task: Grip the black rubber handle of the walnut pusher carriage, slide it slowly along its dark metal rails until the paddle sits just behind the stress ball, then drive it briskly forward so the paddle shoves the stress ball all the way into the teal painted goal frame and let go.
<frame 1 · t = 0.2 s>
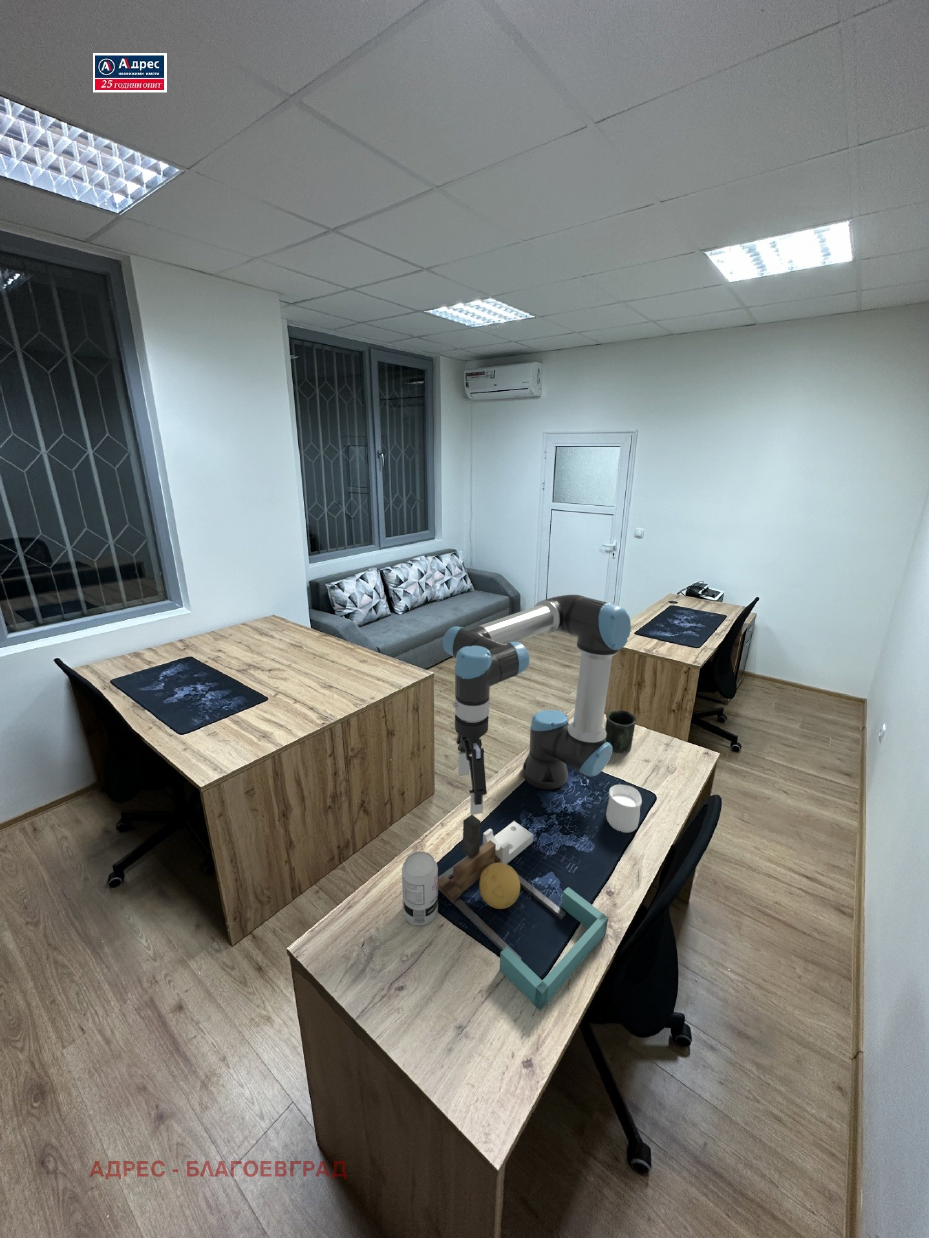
hand: (469, 792, 116), 27 cm above the table, fingers open, 13 cm apart
rails: (497, 899, 120), on the table
stress ball: (498, 901, 120), on the table
carriage: (472, 849, 123), point 9 cm above the table, slide at 0.0 cm
supplement can: (420, 912, 117), on the table
mug: (618, 743, 184), on the table
goal: (554, 950, 108), on the table
bracket: (507, 850, 135), on the table, touching rails
cup: (621, 821, 146), on the table
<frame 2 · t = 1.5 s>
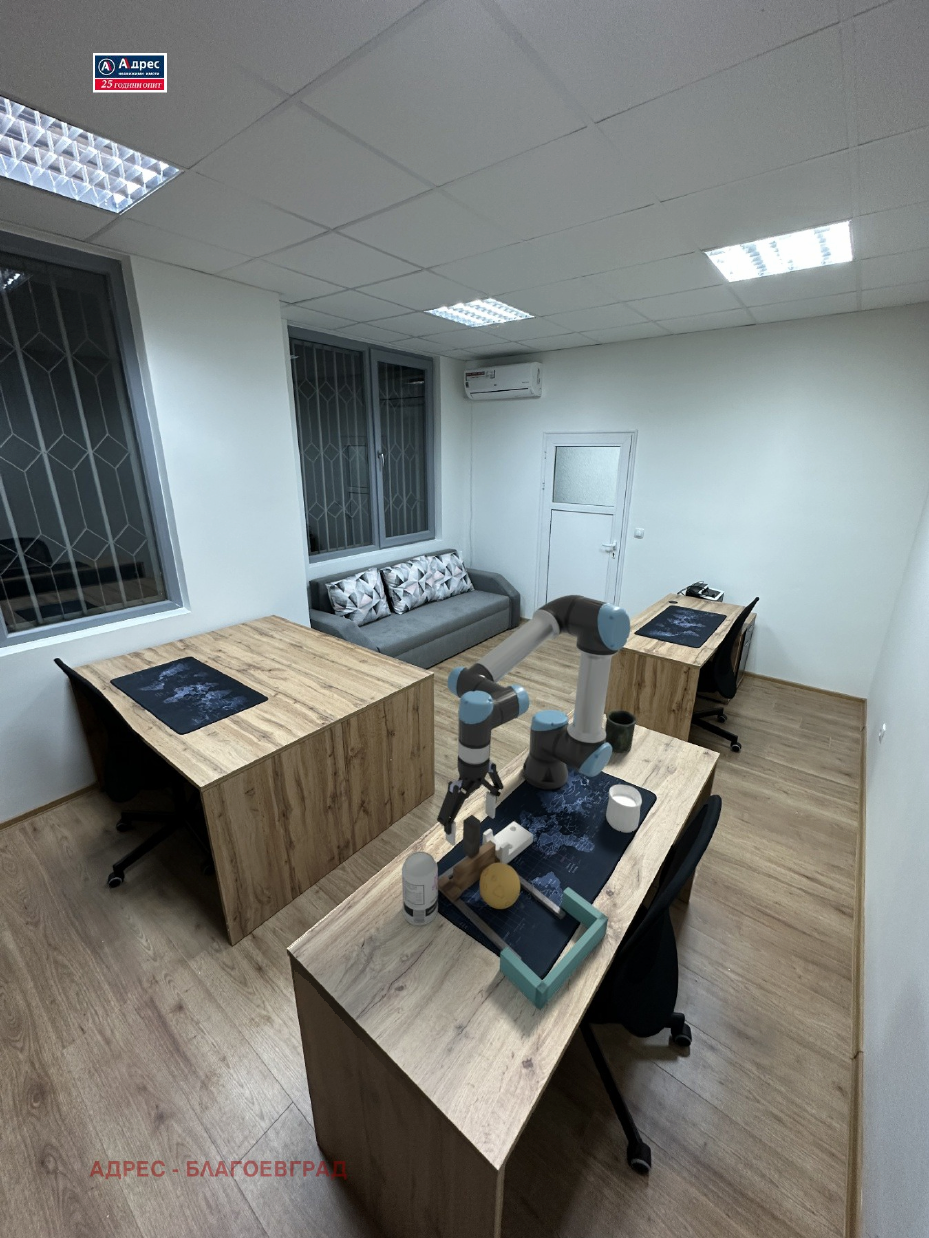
hand: (470, 828, 121), 16 cm above the table, fingers open, 13 cm apart
nothing on the table moved.
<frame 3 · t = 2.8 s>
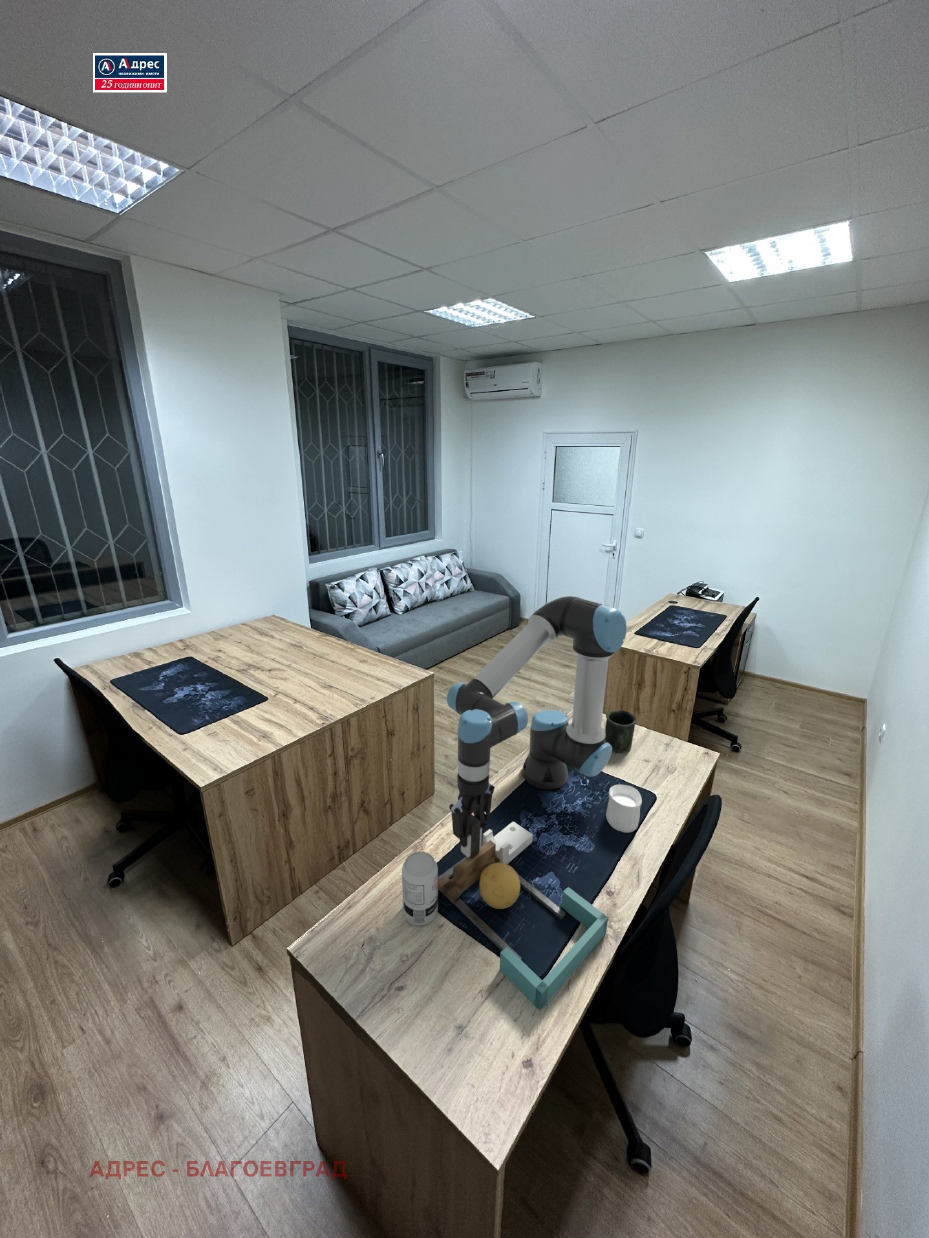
hand: (471, 849, 124), 9 cm above the table, fingers closed on carriage, 3 cm apart
carriage: (472, 849, 123), point 9 cm above the table, slide at 0.0 cm, touching gripper
everything else where it was.
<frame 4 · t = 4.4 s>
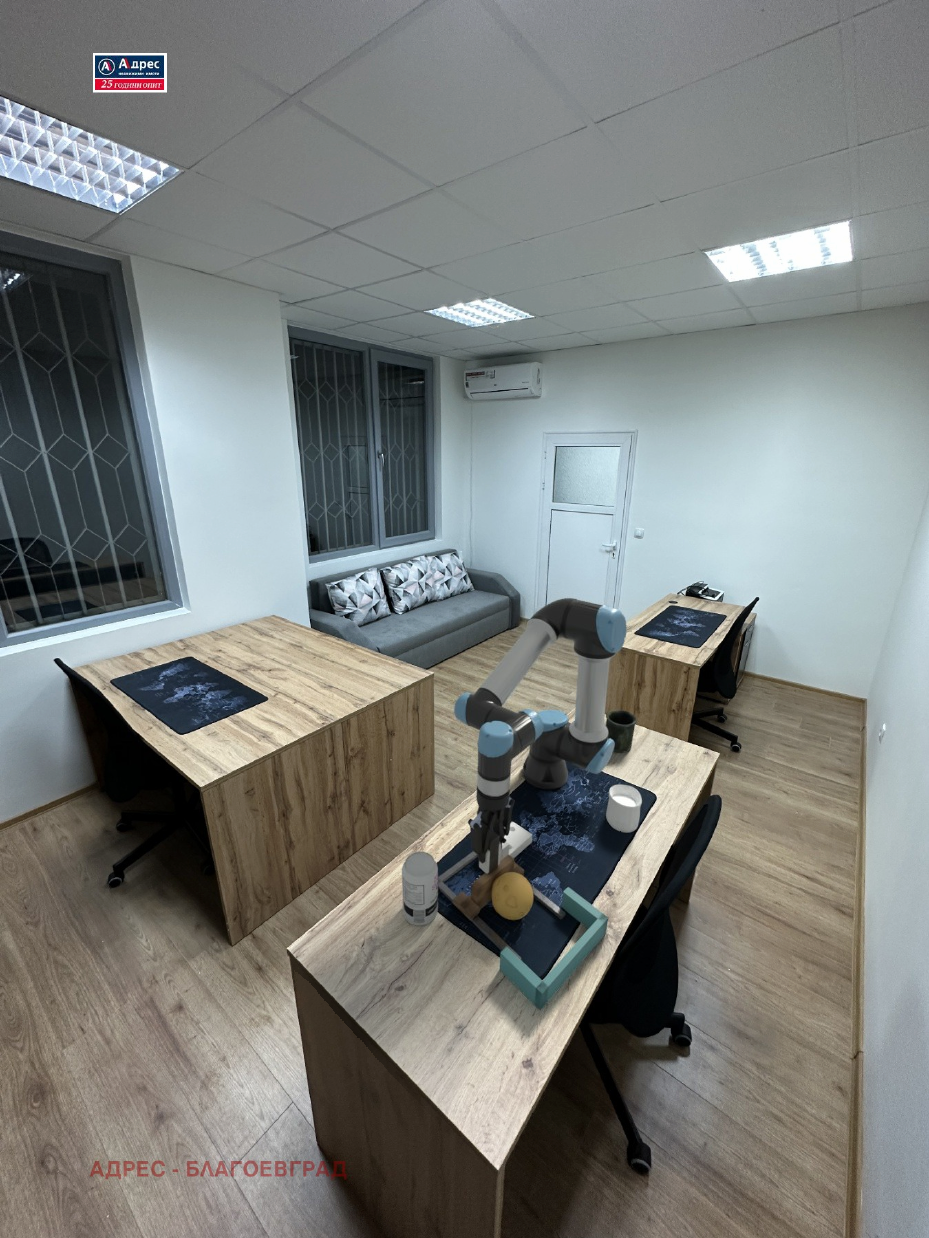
hand: (489, 865, 119), 9 cm above the table, fingers closed on carriage, 3 cm apart
stress ball: (511, 912, 117), on the table
carriage: (490, 864, 119), point 9 cm above the table, slide at 6.4 cm, touching gripper
everything else where it was.
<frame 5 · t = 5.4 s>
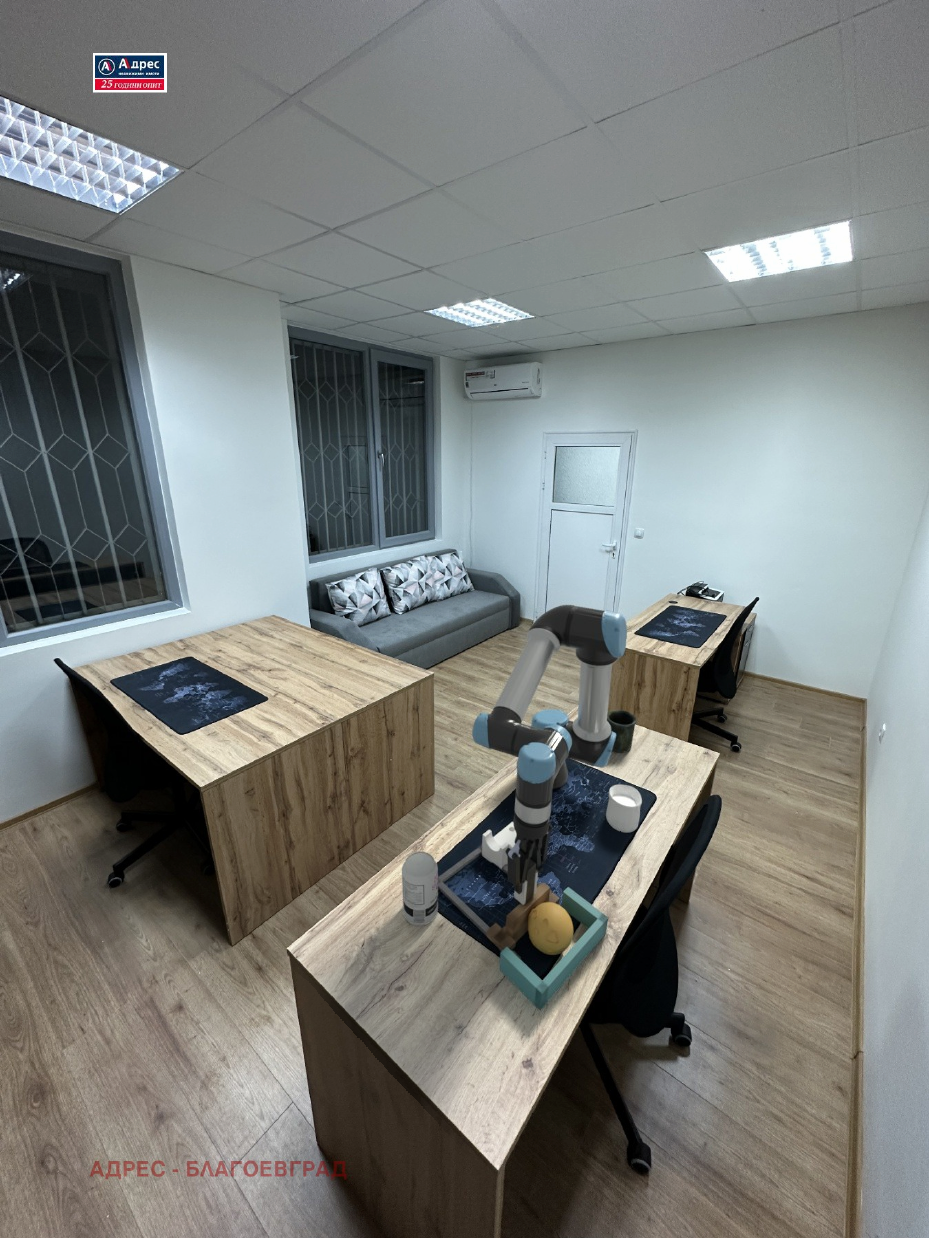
hand: (525, 894, 111), 9 cm above the table, fingers closed on carriage, 3 cm apart
stress ball: (548, 944, 110), on the table, touching carriage
carriage: (526, 894, 111), point 9 cm above the table, slide at 17.6 cm, touching gripper, stress ball
everything else where it was.
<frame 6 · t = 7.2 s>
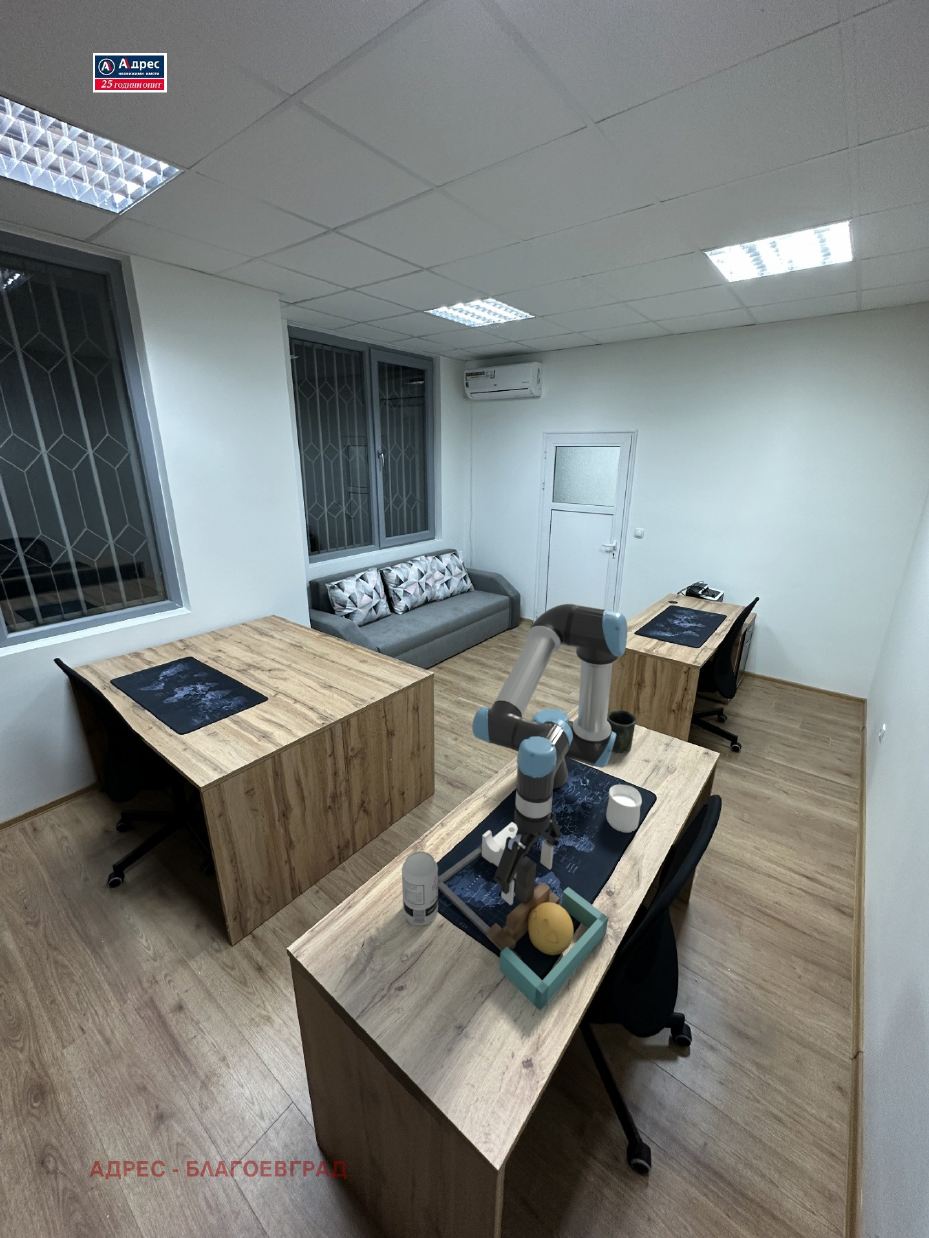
hand: (527, 882, 110), 12 cm above the table, fingers open, 13 cm apart
carriage: (526, 894, 111), point 9 cm above the table, slide at 17.6 cm, touching stress ball
everything else where it was.
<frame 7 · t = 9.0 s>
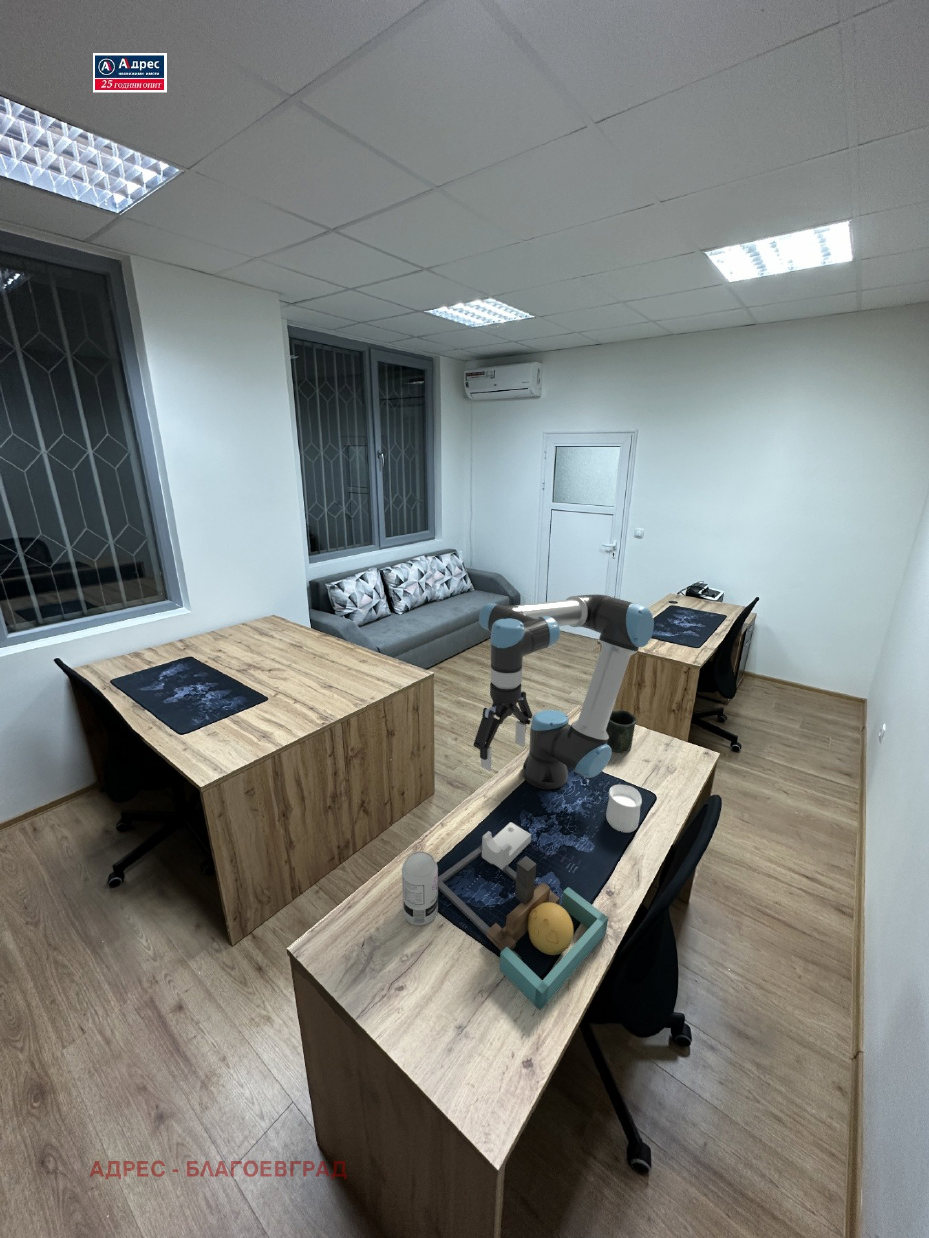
hand: (503, 755, 125), 30 cm above the table, fingers open, 13 cm apart
nothing on the table moved.
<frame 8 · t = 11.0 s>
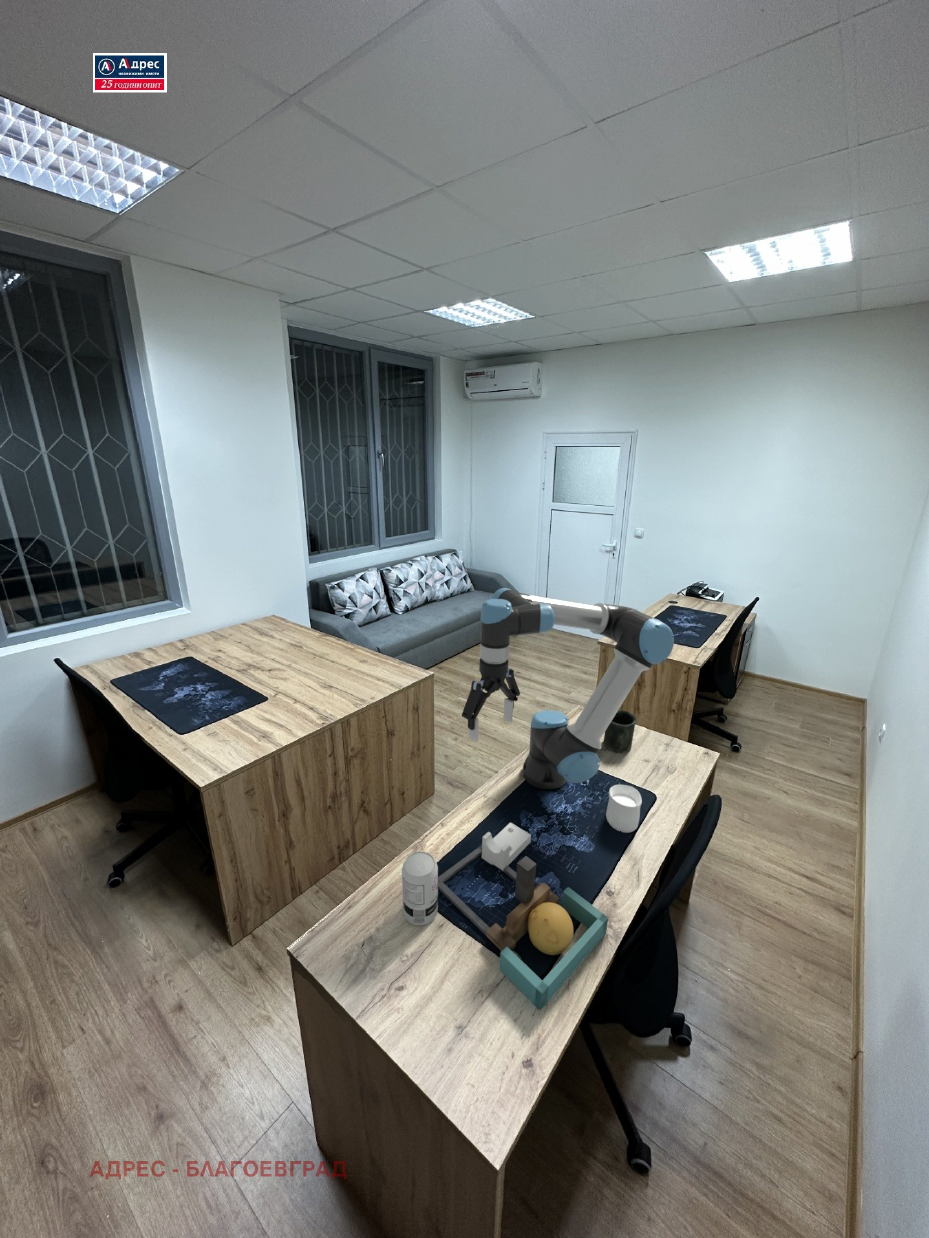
hand: (491, 729, 134), 32 cm above the table, fingers open, 13 cm apart
nothing on the table moved.
at the end: stress ball inside the target area (1.9 cm from its centre), on the table; carriage slide at 17.6 cm; the gripper is holding nothing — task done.
